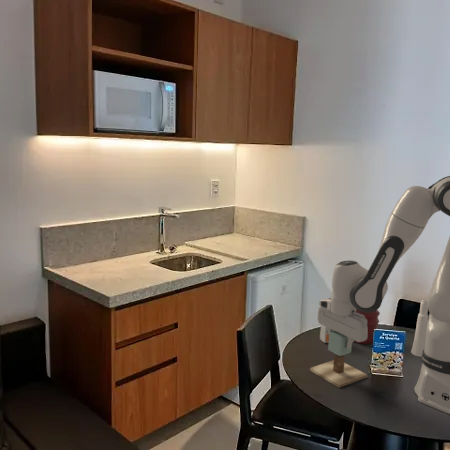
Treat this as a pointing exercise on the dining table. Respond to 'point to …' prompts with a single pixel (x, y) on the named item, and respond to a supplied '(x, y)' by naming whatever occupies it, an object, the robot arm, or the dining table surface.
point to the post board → (338, 377)
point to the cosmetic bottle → (420, 330)
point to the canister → (370, 325)
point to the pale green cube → (338, 343)
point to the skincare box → (324, 334)
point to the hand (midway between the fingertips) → (340, 344)
